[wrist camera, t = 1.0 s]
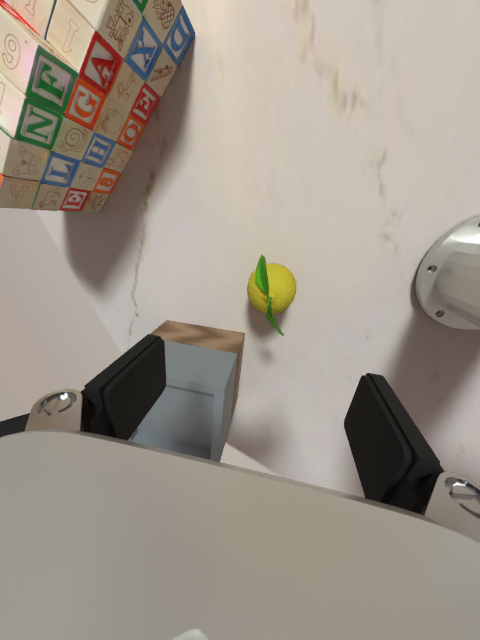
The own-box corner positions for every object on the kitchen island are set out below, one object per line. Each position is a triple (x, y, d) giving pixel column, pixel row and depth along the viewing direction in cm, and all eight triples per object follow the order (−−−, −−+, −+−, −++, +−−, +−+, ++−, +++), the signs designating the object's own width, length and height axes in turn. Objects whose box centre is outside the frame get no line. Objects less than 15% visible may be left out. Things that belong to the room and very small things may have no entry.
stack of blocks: (146, -26, 21) (-16, -323, 9) (197, 34, 22) (104, -171, 10) (60, 177, 29) (-79, 148, 18) (100, 214, 30) (-10, 208, 19)
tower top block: (237, 353, 28) (224, 388, 22) (229, 424, 32) (217, 469, 26) (146, 337, 29) (111, 365, 23) (152, 407, 34) (124, 445, 28)
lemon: (283, 313, 30) (283, 350, 21) (243, 296, 31) (226, 326, 22) (307, 266, 28) (318, 286, 19) (262, 248, 28) (252, 259, 19)
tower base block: (245, 332, 33) (237, 353, 28) (237, 395, 38) (230, 424, 32) (168, 319, 35) (146, 337, 29) (170, 382, 39) (152, 407, 34)
